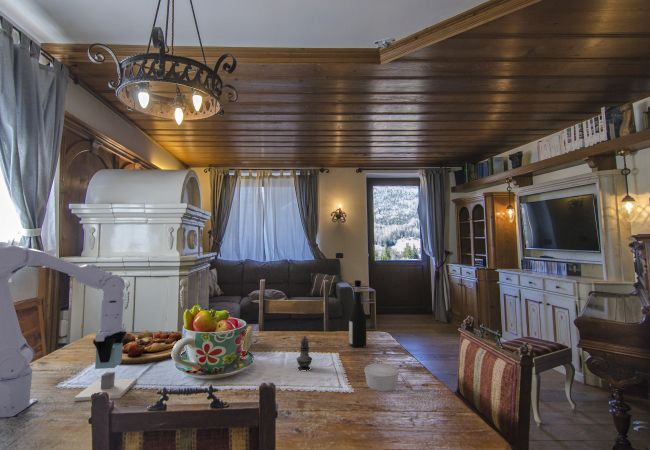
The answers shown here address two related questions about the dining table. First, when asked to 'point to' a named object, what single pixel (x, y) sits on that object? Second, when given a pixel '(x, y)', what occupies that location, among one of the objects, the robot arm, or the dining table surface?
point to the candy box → (248, 339)
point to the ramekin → (381, 377)
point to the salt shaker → (304, 356)
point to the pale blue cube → (111, 357)
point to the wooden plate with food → (148, 346)
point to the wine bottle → (357, 320)
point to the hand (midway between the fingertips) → (109, 359)
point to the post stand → (106, 387)
